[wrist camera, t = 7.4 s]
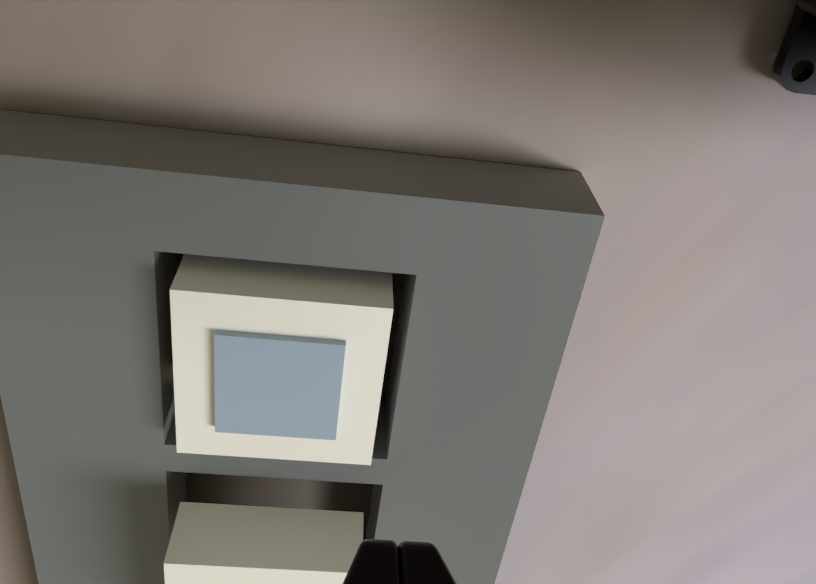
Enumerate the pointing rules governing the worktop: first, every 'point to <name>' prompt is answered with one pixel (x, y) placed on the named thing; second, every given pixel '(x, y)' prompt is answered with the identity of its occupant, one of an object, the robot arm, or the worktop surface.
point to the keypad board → (285, 243)
